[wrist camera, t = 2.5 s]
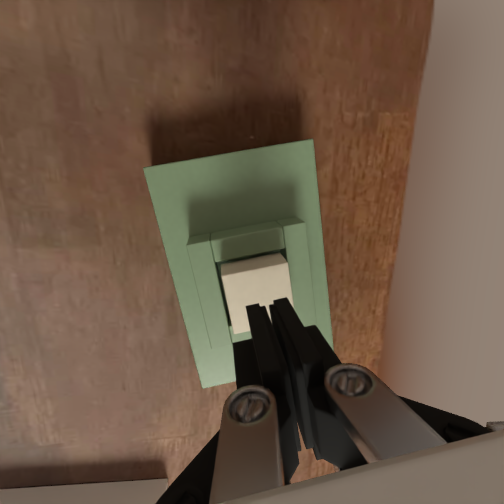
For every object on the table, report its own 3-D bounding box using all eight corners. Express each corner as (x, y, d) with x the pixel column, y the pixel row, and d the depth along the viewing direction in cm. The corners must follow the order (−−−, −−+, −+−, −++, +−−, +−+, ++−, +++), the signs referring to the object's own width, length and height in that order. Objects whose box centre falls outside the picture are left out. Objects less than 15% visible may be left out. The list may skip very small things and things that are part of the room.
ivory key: (220, 264, 15) (220, 275, 13) (279, 252, 15) (288, 262, 13) (231, 317, 16) (233, 335, 14) (287, 305, 16) (296, 321, 14)
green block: (151, 167, 16) (132, 167, 13) (301, 142, 17) (326, 134, 13) (203, 367, 21) (200, 411, 17) (323, 340, 21) (346, 377, 17)
